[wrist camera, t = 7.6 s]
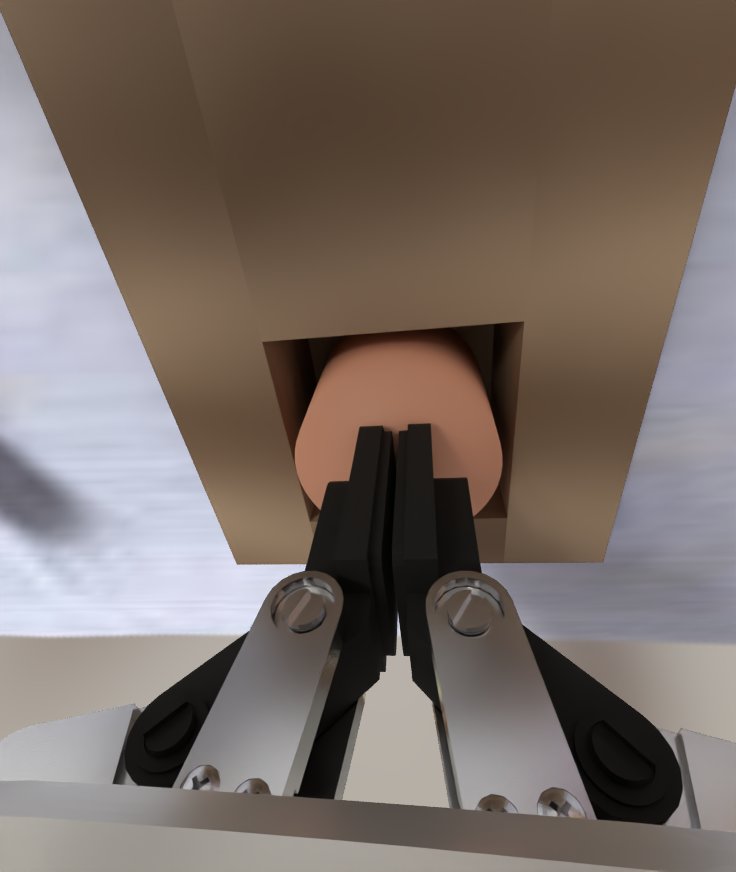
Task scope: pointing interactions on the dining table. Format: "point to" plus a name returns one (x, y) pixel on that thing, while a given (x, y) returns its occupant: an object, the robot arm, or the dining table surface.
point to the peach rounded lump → (401, 408)
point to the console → (394, 219)
